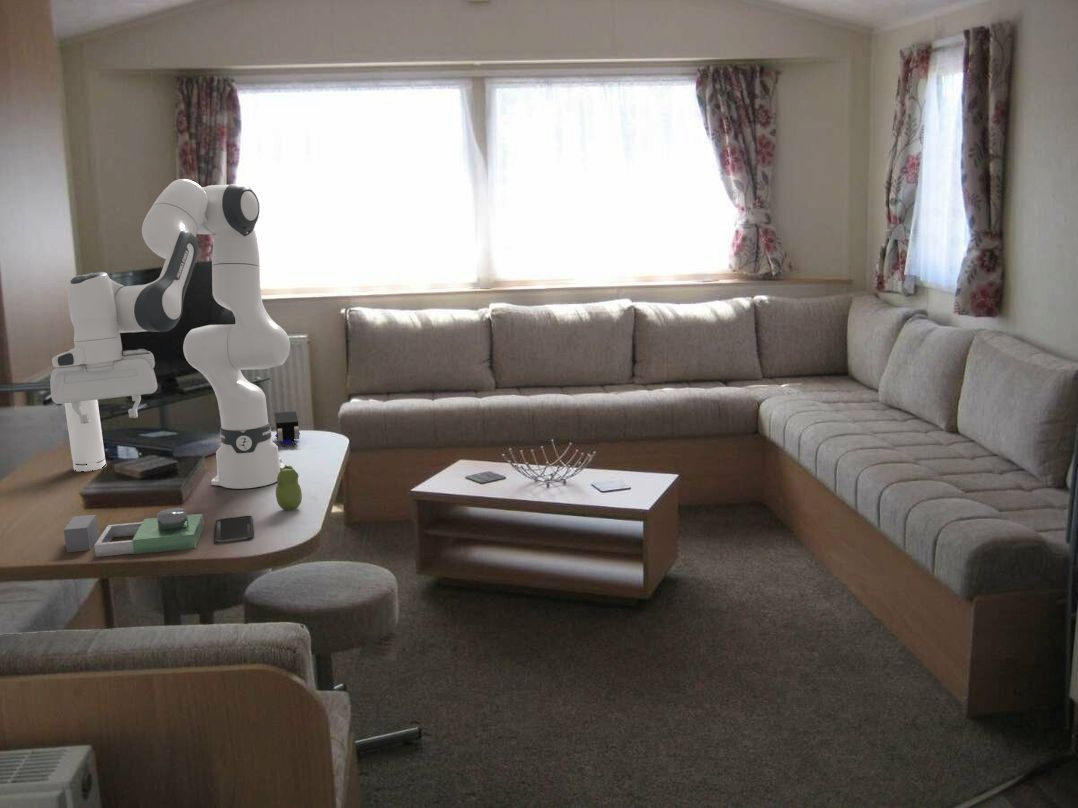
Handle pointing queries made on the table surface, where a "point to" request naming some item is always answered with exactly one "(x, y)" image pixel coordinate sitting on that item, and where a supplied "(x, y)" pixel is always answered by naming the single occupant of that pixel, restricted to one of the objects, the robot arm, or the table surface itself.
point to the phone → (234, 529)
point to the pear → (288, 489)
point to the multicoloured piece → (153, 534)
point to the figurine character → (287, 427)
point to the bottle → (85, 437)
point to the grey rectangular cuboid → (81, 533)
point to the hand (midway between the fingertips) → (109, 420)
